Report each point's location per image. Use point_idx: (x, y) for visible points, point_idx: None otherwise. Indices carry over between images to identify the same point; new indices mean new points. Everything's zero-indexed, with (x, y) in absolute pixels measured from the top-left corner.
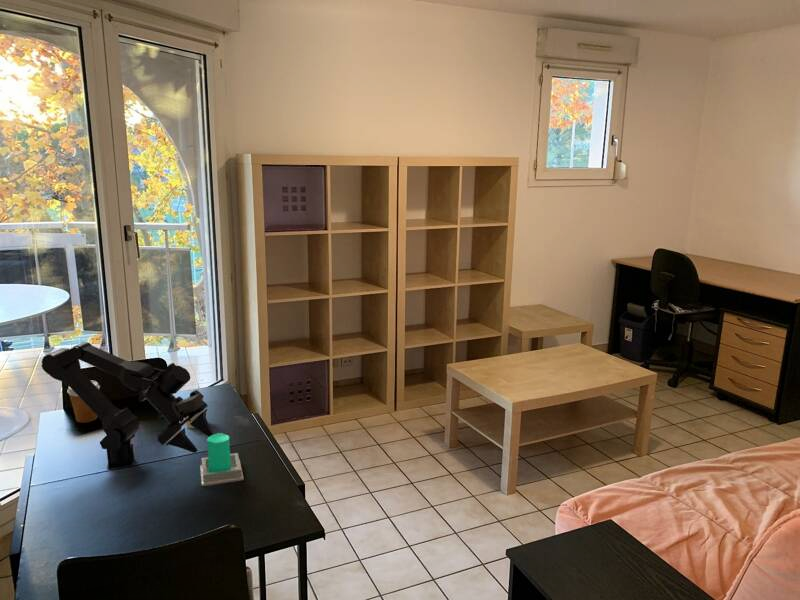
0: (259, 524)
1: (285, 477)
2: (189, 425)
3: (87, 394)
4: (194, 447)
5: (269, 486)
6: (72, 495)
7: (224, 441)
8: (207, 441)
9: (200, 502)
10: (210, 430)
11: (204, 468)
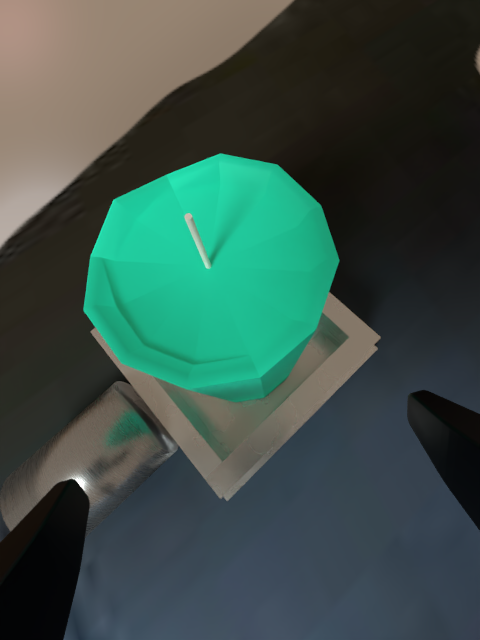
0: (437, 37)
1: (161, 123)
2: None
3: None
4: (464, 411)
5: (236, 131)
6: None
7: (240, 159)
8: (317, 323)
9: (471, 268)
10: (14, 539)
11: (316, 384)
